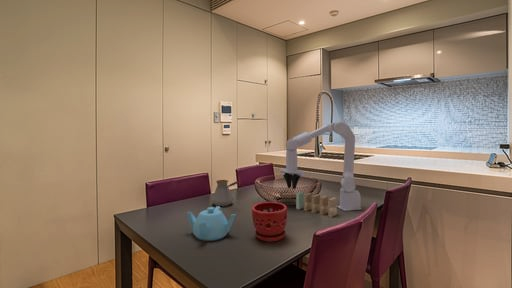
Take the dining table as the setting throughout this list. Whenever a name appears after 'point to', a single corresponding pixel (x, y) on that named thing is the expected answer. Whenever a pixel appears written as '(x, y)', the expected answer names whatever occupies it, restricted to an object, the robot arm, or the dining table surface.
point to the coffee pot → (223, 193)
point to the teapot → (210, 224)
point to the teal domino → (300, 200)
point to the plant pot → (269, 221)
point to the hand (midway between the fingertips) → (291, 188)
